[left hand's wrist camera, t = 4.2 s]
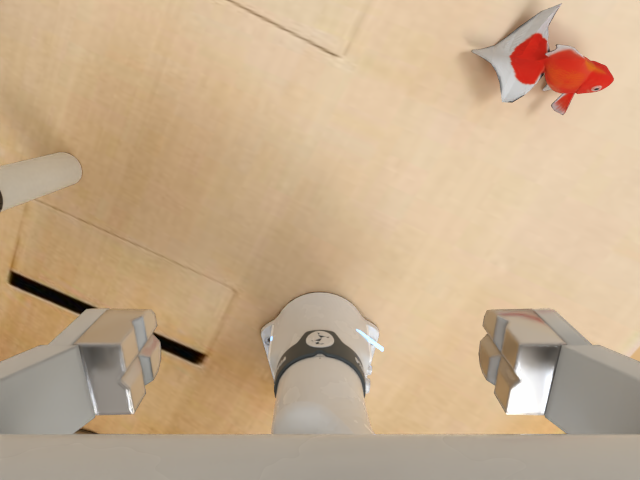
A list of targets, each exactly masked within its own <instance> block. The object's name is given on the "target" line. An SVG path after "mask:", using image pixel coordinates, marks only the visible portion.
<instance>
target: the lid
mask: <svg viewBox="0 0 640 480" xmlns="http://www.w3.org/2000/svg"><path fill="white" fill-rule="evenodd" d="M2 207H3V197H2V194H1V191H0V212H1V210H2Z"/></svg>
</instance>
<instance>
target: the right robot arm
mask: <svg viewBox="0 0 640 480" xmlns="http://www.w3.org/2000/svg"><path fill="white" fill-rule="evenodd" d="M73 434H94V433H92V432H88V431H84V430H77V431H76V432H75V433H73Z"/></svg>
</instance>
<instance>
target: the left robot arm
mask: <svg viewBox="0 0 640 480" xmlns="http://www.w3.org/2000/svg"><path fill="white" fill-rule="evenodd" d="M156 327H157V321H156V316H155V313H154V312H153V311H152V310H151V309H109V308H102V309H86V310H85V311H84V312H83V313H82V314H81V315H80V316H79V317H78V318H76V319H75V320H74V321H73V322H72V323H71V324H70V325H69V326H68V327H67V328H66V329H64V330H63V331H62V332H61V333H60V334H59V335H58V336H57V337H56V338H55V339H54V340H52V341H51V342H50V343H49V344H48V345H40V346H37V347H35V348H32V349H30V350H27V351H25V352H23V353H20V354H18V355H15V356H13V357H10V358H8V359H6V360H3V361H1V362H0V480H640V362H639V361H637V360H634V359H632V358H629V357H627V356H625V355H622V354H620V353H617V352H615V351H613V350H610V349H608V348H605V347H603V346H600V345H592V344H591V343H590V342H589V341H588V340H586V339H585V338H584V337H583V336H582V335H581V334H580V333H579V332H578V331H577V330H576V329H575V328H573V327H572V326H571V325H570V324H569V323H568V322H567V321H566V320H565V319H564V318H563V317H562V316H560V315H559V314H558V313H557V312H556V311H555V310H553V309H550V308H543V309H501V310H487V311H486V314H485V316H484V320H483V327H484V329H485V330H486V332H487V333H488V334H487V335H486V336H485V337H484V338H483V339H482V340H481V341H480V346H479V362H480V367H481V370H482V373H483V375H484V377H485V378H486V380H487V381H489V382H490V383H492V384H493V385H495V390H494V394H495V396H496V397H497V399H498V401H499V403H500V404H501V406H502V408H503V409H504V411H505V413H506V414H518V415H545V418H547V419H548V420H549V421H551V422H552V423H553V424H555V425H556V426H557V427H559V428H560V429H561V430H563V431H564V432H565V433H567V434H375V433H374V431H373V429H372V427H371V424H370V421H369V417H368V414H367V410H366V405H365V400H364V398H365V393H369V390H370V379H369V378H367V376H368V375H371V373H372V366H371V362H372V358H373V355H374V351H375V348H376V347H377V348H379V349H380V350H381V351H383V350H384V349H383V347H382V346H380V345H379V344H378V343H377V341H378V337H379V329H378V328H377V327H376V326H375V325H374V324H372V323H371V322H369V321H367V320H366V319H364V318H363V316H362V315H361V314H360V312H359V311H358V310H357V308H356V307H355V306H354V305H353V304H352V303H350V302H349V301H348V300H346V299H344V298H342V297H340V296H338V295H335V294H331V293H324V292H316V293H309V294H305V295H302V296H300V297H298V298H296V299H294V300H292V301H291V302H290V303H288V304H287V305H286V306H285V307H284V308H283V310H282V311H281V312H280V314H279V315H278V316H277V318H276V319H275V320H273V321H271V322H269V323H268V324H266V325H265V326H264V327H263V328H262V329H261V337H262V341H263V344H264V348H265V351H266V355H267V358H268V362H269V365H270V369H271V372H272V375H273V379H274V384H275V385H274V393H275V398H276V401H275V408H274V415H273V422H272V429H271V433H272V434H73V433H75V432H76V431H77V430H79V429H80V428H81V427H83V426H84V425H85V424H87V423H88V422H89V421H91V420H92V419H93V418H95V415H121V414H134V413H135V411H136V409H137V408H138V406H139V404H140V403H141V401H142V399H143V397H144V396H145V394H146V390H145V385H147V384H148V383H150V382H151V381H153V380H154V378H155V376H156V375H157V373H158V370H159V366H160V362H161V346H160V341H159V340H158V339H157V338H156V337H155V336H154V335H153V334H152V333H153V332H154V330H155V329H156ZM268 338H270V340H269V339H268ZM371 338H372V339H371Z"/></svg>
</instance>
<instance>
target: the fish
mask: <svg viewBox="0 0 640 480" xmlns="http://www.w3.org/2000/svg"><path fill="white" fill-rule="evenodd" d="M561 4H562V3H561ZM561 4H559V5H556V6H554V7H551V8H549V9H546V10H544V11H541V12H540V13H538V14H537V15H535V16H534V17H532V18H531V19H530V20H528V21H527V22H525V23H524V24H523V25H521V26H520V27H518V28H517V29H516V30H515V31H513V32H512V33H511V34H510V35H508V36H507V37H506V38H504V39H503V40H502V41H500V42H499V43H497V44H496V45H495V46H491V47H487V48H483V49H479V50H472V51H471V52H473V53H474V54H477V55H479V56H480V57H482V58H484V59H485V60H487V61H488V62H489V63H491V64H492V66H493V68H494V69H495V71H496V73H497V76H498V79H499V82H500V89H501V97H502V102H514V101H516V100H517V99H519V98H521V97H522V96H524V95H525V94H526V93H527V92H528V91H530V90H531V89H532V88H533V86H534V85H535V84H536V83H537V82H538V81H539V80H540V78H541V77H542V76H543V75H544V74H545V79H546V82H547V85H546V86H545V87H544V88H543V91H547V90H550V89H552V90H553V91H555V92H558V93H563V94H562V95H561V96H560V97H559V98H558V99H557V100H556V101H555V102H553V103H552V105H551V106H552V108H553V109H554V111H556V112H558V113H560V114H562V115H563V114H564V113H565V112H566V110H567V108H568V106H569V104H570V102H571V100H572V98H573V96H574V94H575V93H577V94H581V93H592V92H597V91H600V90H602V89H604V88H606V87H607V86H609V85H610V84H611V83H612V82H613V81H614V78H613V76H612V74H611V73H610V71H609V70H608V68H607V66H605V65H603V64H600V63H598V62H595V61H590V60H589V59H587V58H586V57H584V56H582V55H581V54H580V53H579V52H578V51H577V50H576V49H575V48H573V47H570V46H566V45H556V47H557V48H556V49H555V50H553V51H550V50H549V45H548V26H549V24H550V22H551V20H552V19H553V17H554V15H555V13H556V12H557V10H558V9H559V7H560V6H561ZM548 56H549V57H548Z"/></svg>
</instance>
